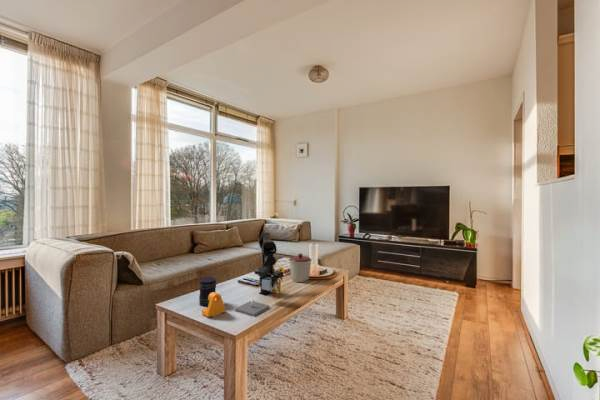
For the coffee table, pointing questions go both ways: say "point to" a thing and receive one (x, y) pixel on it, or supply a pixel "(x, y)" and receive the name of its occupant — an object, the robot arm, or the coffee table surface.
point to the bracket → (214, 305)
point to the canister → (300, 268)
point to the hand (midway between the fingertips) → (268, 286)
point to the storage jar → (206, 290)
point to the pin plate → (252, 308)
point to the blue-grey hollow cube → (267, 284)
